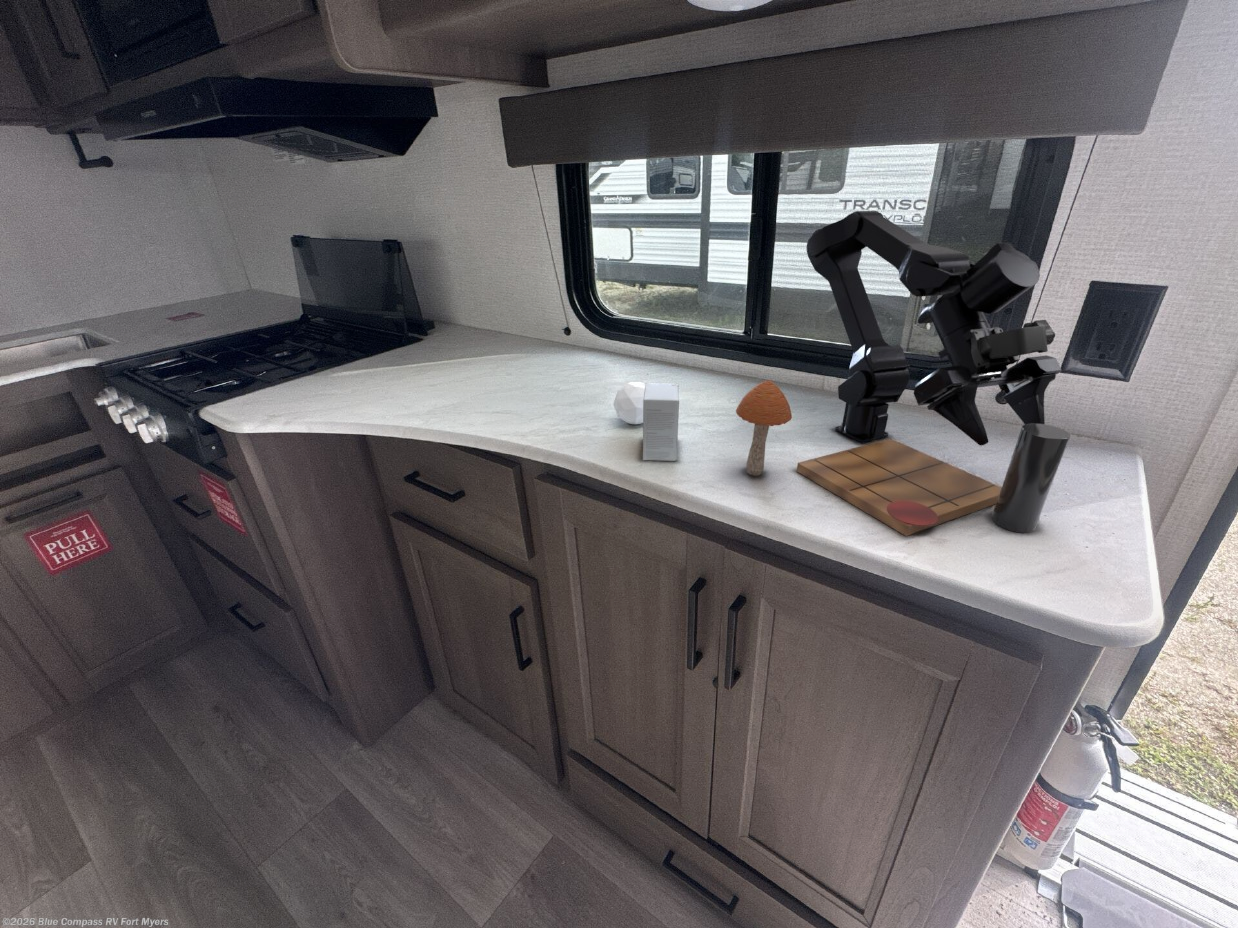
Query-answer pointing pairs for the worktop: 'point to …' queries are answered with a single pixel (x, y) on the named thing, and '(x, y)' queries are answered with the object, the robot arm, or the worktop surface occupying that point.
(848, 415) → the robot arm
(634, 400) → the geometric ball
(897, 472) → the board
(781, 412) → the mushroom
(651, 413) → the small box
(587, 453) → the worktop surface
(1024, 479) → the black cylinder
